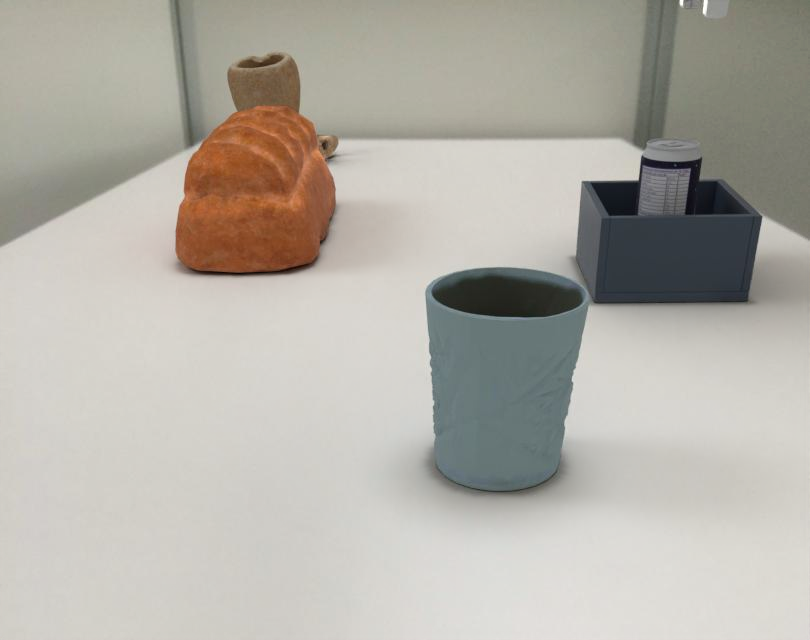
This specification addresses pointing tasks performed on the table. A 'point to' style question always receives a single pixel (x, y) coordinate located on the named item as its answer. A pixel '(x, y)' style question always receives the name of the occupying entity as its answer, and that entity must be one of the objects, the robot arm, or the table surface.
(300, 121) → the bread
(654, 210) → the beverage can
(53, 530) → the table surface
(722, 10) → the robot arm
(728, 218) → the bin
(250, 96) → the stone cup
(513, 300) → the teal cup
